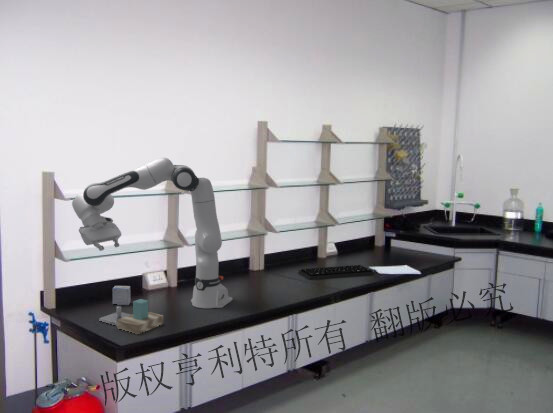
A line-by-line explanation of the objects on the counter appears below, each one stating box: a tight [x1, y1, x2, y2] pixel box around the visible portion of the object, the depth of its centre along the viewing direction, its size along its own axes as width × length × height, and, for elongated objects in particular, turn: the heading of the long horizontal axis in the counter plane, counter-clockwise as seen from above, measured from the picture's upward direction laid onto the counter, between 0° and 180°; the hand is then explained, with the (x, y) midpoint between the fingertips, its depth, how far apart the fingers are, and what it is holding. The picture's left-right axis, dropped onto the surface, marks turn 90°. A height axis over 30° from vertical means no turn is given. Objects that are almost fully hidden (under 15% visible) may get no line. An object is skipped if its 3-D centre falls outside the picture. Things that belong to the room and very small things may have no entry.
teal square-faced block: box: [132, 298, 149, 320], centre depth 245 cm, size 5×5×8 cm
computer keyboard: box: [298, 264, 375, 281], centre depth 349 cm, size 45×16×4 cm, turn 113°
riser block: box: [116, 311, 164, 335], centre depth 245 cm, size 16×12×4 cm
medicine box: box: [112, 285, 131, 306], centre depth 274 cm, size 8×4×9 cm, turn 92°
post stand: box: [98, 305, 132, 327], centre depth 251 cm, size 12×12×6 cm
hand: (110, 248), depth 255 cm, fingers open, 8 cm apart
